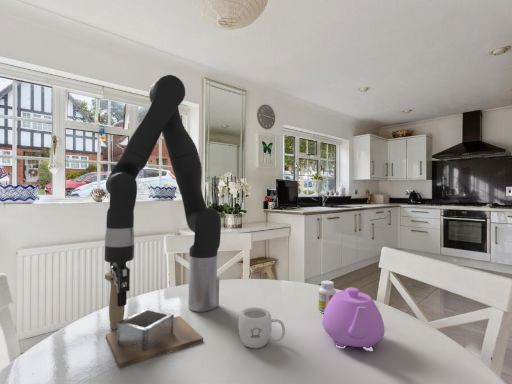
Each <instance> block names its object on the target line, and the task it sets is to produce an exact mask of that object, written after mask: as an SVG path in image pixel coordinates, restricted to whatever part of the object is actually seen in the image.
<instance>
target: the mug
mask: <svg viewBox="0 0 512 384" xmlns="http://www.w3.org/2000/svg"><path fill="white" fill-rule="evenodd" d="M272 323H279V324H280V326H281V330H282V331H281V336H280V337H273V336H271V334H272V333H271V332H272V327H273V326H272ZM238 333H239V338H240V341H241V342H242V344H243V345H244V346H245V347H247V348H250V349H260V348H263V347H265V346H266V345H267V343H268V342H269V340H271V341H272V342H280V341H281V340H283V339H284V337H285V334H286V327H285V325H284V322H283V321H282V320H281V319H278V318H273V319H272V316H271V312H270V311H268V310H267V309H266V308H262V307H247V308H245V309H242V310H241V311H240V313H239V316H238Z"/></svg>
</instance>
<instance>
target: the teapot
mask: <svg viewBox="0 0 512 384" xmlns="http://www.w3.org/2000/svg"><path fill="white" fill-rule="evenodd" d="M321 321H322V322H321V323H322V326H323V330H324V331H325V332H326V333H327V335H328V336H329V337H330V338H331V339H332V340H334V341H336V342H335V344H336V345H337V346H340V347H344V346H346V345H347V346H350V347H358V348H362V347H366V348H370V347H372V346H373V347H374V346H375V345H376V344H378V343H379V342H380V341H381V340H382V339H383V338H384V336H385V330H386V329H385V325H384V324H385V323H384V319H383V317H382V314H381V312H380V310H379V308H378V306H377V305H376V303H375V301H374V300H373V298H372V297H371V296H370V295H368V294H367V293H364V292H361V291H360V289H359V288H357V287H351V286H350V287H346V289H344V290H339V291H336V293H335V294H334V296H333V297H332V298H331V300H330V301H329V303H328V304H327V306H326V308H325V310H324V314H323V315H322V319H321ZM347 346H346V347H347Z"/></svg>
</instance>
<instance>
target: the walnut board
mask: <svg viewBox="0 0 512 384" xmlns="http://www.w3.org/2000/svg"><path fill="white" fill-rule="evenodd" d="M105 339H106V342H107V344H108V346H109V348H110V351H111V354H112V356H113V358H114V361H115V363H116V365H117V367H118V369H120V368H123V367H127V366H130V365H133V364H137V363H139V362H140V363H141V362H142V361H143V362H144V361H146V360H149V359H152V358H156V357H159V356H161V355H165V354H169V353H171V352H175V351H178V350H181V349H185V348H188V347H191V346H194V345H198V344H200V343H203V342H204V337H203V336H202V335H201V334H200V333H198V331H197V330H196V329H194V327H192V326H191V325H190V324H189V323H188V322H187V321H186V320H185V319H183V317H182V316H180V315H178V316H174V325H173V334H171V335H170V336H168V337H167V338H165V339H164V340H162V341H161V342H159V343H158V344H156V345H155V346H153V347H152V348H150V349H148V350H147V351H145V352H144V351H141V350H138V349H134V348H131V347H128V346H125V345H122V344H118V343H117V330H115V331H112V332H107V333H105Z"/></svg>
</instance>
